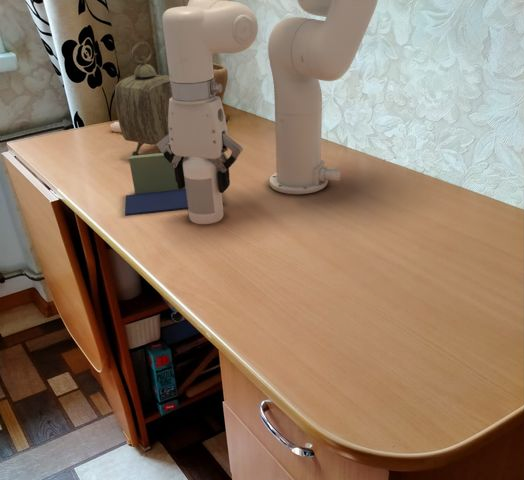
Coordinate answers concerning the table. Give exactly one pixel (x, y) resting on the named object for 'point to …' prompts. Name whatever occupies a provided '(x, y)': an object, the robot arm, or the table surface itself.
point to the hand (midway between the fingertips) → (203, 187)
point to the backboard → (152, 173)
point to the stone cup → (220, 79)
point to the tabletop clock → (143, 103)
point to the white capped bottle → (202, 190)
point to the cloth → (156, 202)
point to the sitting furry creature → (115, 127)
